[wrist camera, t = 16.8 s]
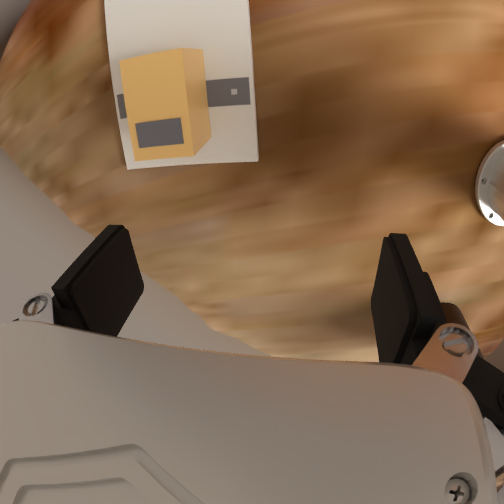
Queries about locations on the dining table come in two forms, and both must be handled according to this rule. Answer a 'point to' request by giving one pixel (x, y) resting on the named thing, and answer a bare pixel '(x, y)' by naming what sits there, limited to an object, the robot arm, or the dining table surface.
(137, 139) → the tan rectangular block
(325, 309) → the dining table surface
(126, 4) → the white flat panel
